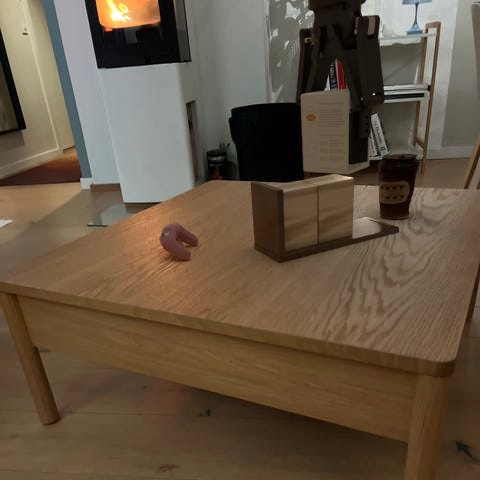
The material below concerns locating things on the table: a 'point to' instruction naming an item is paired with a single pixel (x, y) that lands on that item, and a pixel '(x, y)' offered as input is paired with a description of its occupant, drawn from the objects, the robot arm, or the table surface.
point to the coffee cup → (397, 184)
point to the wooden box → (309, 217)
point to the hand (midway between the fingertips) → (335, 159)
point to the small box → (327, 132)
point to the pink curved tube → (177, 240)
